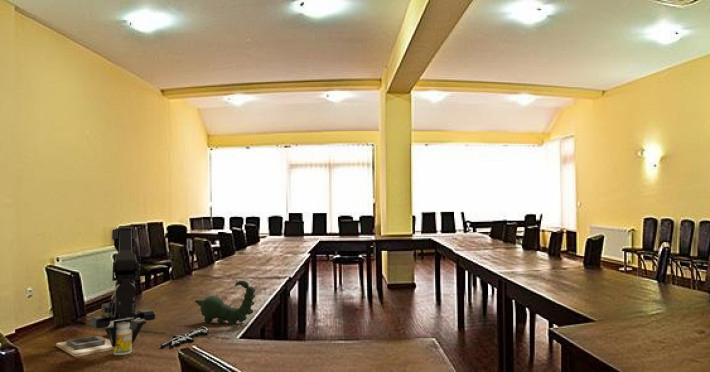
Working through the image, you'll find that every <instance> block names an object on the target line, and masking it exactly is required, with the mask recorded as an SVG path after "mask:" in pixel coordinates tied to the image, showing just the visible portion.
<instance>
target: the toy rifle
mask: <svg viewBox="0 0 710 372" xmlns="http://www.w3.org/2000/svg"><path fill="white" fill-rule="evenodd" d="M209 330H210V329H209V328H208V327H207V326H200V327H199V328H198V327H197V328H196V330H190V331H189V332H188V333H187V332H186V333H184V334H183V335H177V334H176V335H175V334H174V335H173V334H172V339H169V340H167V341H165V342H163V343H161V344H160V349H163V350H164V349H166V348H167V347H169V346H170V349H174V348H175V347H181V345H183V344H184V343H185V344H188V343H195V339H194V338H195V337H199V336H208V334H209V332H210V331H209Z"/></svg>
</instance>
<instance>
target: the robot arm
mask: <svg viewBox="0 0 710 372" xmlns="http://www.w3.org/2000/svg"><path fill="white" fill-rule="evenodd" d="M111 231H112V233H111V241H112V242H113V246H114V248H115V250H116V251H117V254H116V255H115V259H114V261H112V281H113V282H114V281H115V283H114V293H113V294H112V295H111V301H110V302H107V303H102V304H101V309H100V310H101V315H96V316H92V317H91V318H90V319H89V326H90V327H91V328H94V329H104V330H105V332H106V333H107V337H108V340H110V342H111V345H112V347H115V339H116V330H117V327H116V325H117V323H120V322H130V327H129V328H130V329H131V330H132V345H133V344H134V343H135V341H136V338H137V336H138V334H139V333H140V331H141V329H142V328H143V326H144V325H145V324H147V321H154V320H156V312H155V311H154V310H151V309H148V308H146V309H139V310H138V309H137V310H136V308H137V304H136V299H135V296H136V293H137V289H136V286H135V281H136V280H138V281H139V278H141V264H140V262H139V260H138V261H137V254H135V253H134V252H133V248H134V247H135V243H136V241H137V240H138V229H137V228H134V227H131V226H120V227H116V228H114V229H112V230H111ZM105 314H106V315H105Z"/></svg>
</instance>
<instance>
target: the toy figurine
mask: <svg viewBox="0 0 710 372" xmlns="http://www.w3.org/2000/svg"><path fill="white" fill-rule="evenodd" d="M234 286H235V287H237V286H241V287H242V288H244V289H246V290H245V293H244V296H243V297H244V299H243V300H242V301H241V302H242V303H241V305H240V306H239V307H238V308H237V307H234V306H233V307H232V306H231V305H229V304H226V303H224V300H223V299H222V298H221V297H219V296H217V295H209V296H206V298H204V299H196V300H194V302H195V303H196V304H197V305H198V306H199V307H200V311H201V316H203V317H204V319H203V321H204V322H205V323H206V324H210V323H212V322H213V320H214V319H217V323H218V324H223V323H224V322H227V323H228V324H229V325H230V326H232V325H233V324H234V323H237V322H239V323H243V322H244V321H247V318H248V317H247V315H251V314H253V313H254V309H252V306H254V305H255V301H253V300H254V298H255V297H256V294H254V293H255V292H256V288H254V287H253V286H252V285H251V286H250V285H249V283H248V282H247V281H246V280H239V281H237V282H235V285H234Z"/></svg>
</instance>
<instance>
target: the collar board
mask: <svg viewBox="0 0 710 372" xmlns="http://www.w3.org/2000/svg"><path fill="white" fill-rule="evenodd" d="M55 345H56V347H57V348H59V349H61V350H62V351H64V352H65V353H68V354H69V355H71V356H73V357H74V358H77V357H83V356H88V355H94V354H99V353H103V352H109V351H113V349H114V347H112V345H111V342H110V339H109V338H106V337H103V336H102V335H90V336H83V337H78V338H72V339H66V340H65V341H63V342H56V344H55Z"/></svg>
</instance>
